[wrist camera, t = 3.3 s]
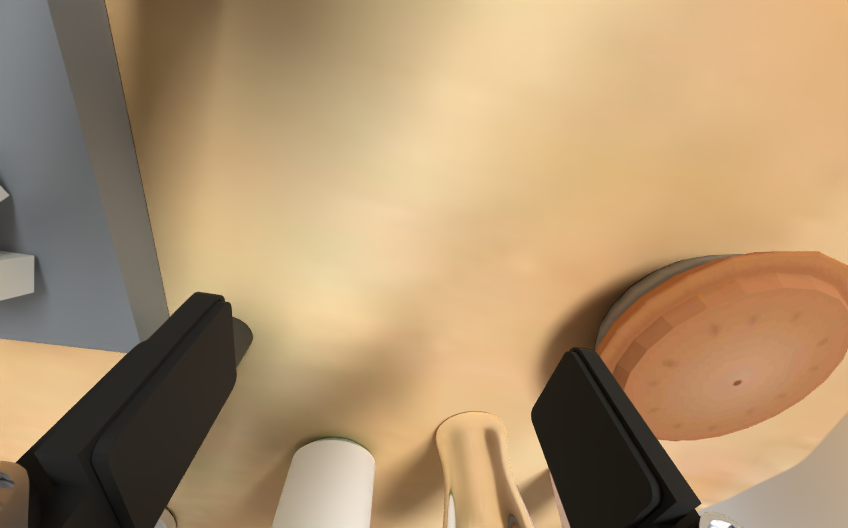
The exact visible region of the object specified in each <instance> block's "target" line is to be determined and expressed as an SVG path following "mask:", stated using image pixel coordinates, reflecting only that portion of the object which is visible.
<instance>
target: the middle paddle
mask: <svg viewBox="0 0 848 528" xmlns="http://www.w3.org/2000/svg"><path fill="white" fill-rule="evenodd" d="M8 196H9V194H8V193H7V192H6V191H5V190H4V189H3V188H2V187H1V186H0V202H1V201H2V200H4V199H5V198H6V197H8Z"/></svg>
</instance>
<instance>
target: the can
mask: <svg viewBox="0 0 848 528" xmlns="http://www.w3.org/2000/svg"><path fill="white" fill-rule="evenodd" d="M374 473H375V460H374V458H373V456H372V455H371V454H370V453H369V452H368V451H367V450H366V449H365V448H363V447H362V446H361V445H359V444H358V443H356V442H354V441H351V440H348V439H344V438H323V439H319V440H316V441H314V442H311V443H309V444H307V445H305V446H303V447H301V448H300V449H299V450H298V451H297V452H296V453H295V454H294V456H293V458H292V462H291V465H290V468H289V471H288V475H287V478H286V481H285V485H284V488H283V491H282V494H281V498H280V501H279V504H278V507H277V511H276V514H275V517H274V520H273V524H272V527H271V528H370V519H371V507H372V496H373V484H374Z"/></svg>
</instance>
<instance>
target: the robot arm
mask: <svg viewBox="0 0 848 528" xmlns="http://www.w3.org/2000/svg"><path fill="white" fill-rule="evenodd" d="M236 377H237V373H236V360H235V346H234V333H233V320H232V307H231V304H230V303H229V302H225V299H224V297H223V296H222V295H216V294H209V293H203V292H196V293H194V294H193V295H192V296H191V297H190V298H189V299H188V300H187V301H186V302H185V303H184V304H182V305H181V306H180V307H179V308H178V309H177V310H176V311H175V312H174V313H173V314H172V315H171V316H170V317H169V318H168V319H167V320H166V321H165V322H164V323H163V324H162V325H161V326H160V327H159V328H158V329H157V330H156V331H155V332H154V333H153V334H152V335H151V336H150V337H149V338H148V339H147V340H146V341H143V342H141V343H139V344H138V345H136V346H135V347H134V348H133V349H132V350H131V351H129V352H128V353H127V354H126V355H125V356H124V357H123V358H122V359H121V360H120V361H119V362H118V363H117V364H116V365H115V366H114V367H113V368H112V369H111V370H110V371H109V372H108V373H107V374H106V375H105V376H104V377H103V378H102V379H101V380H100V381H99V382H98V383H97V384H96V385H95V386H94V387H93V388H92V389H91V390H90V391H89V392H87V393H86V394H85V395H84V396H83V397H82V398H81V399H80V400H79V401H78V402H77V403H76V404H75V405H74V406H73V407H72V408H71V409H70V410H69V411H68V412H67V413H66V414H65V415H64V416H63V417H62V418H61V419H60V420H59V421H58V422H57V423H56V424H55V425H54V426H53V427H52V428H51V429H50V430H49V431H48V432H47V433H45V434H44V435H43V436H42V437H41V438H40V439H39V440H38V441H37V442H36V443H35V444H34V445H33V446H32V447H31V448H30V449H29V450H28V451H27V452H26V453H25V454H24V455H23V456H22V457H21V458H20V459H19V460H18V461H17V462H16V463H13V462H6V461H0V528H176V523H175V520H174V518H173V516H172V515H171V514H170V512H169V511H168V510H166V509H165V508H166V506H167V504H168V502H169V501H170V499H171V497H172V495H173V494H174V492H175V490H176V488H177V487H178V485H179V483H180V481H181V479H182V478H183V476H184V474H185V472H186V471H187V469H188V467H189V465H190V464H191V462H192V460H193V458H194V457H195V455H196V453H197V451H198V449H199V448H200V446H201V444H202V442H203V441H204V439H205V437H206V435H207V434H208V432H209V430H210V428H211V427H212V425H213V423H214V421H215V419H216V418H217V416H218V414H219V412H220V411H221V409H222V407H223V405H224V404H225V402H226V400H227V398H228V397H229V395H230V393H231V391H232V389H233V387H234V385H235V382H236ZM531 419H532V423H533V426H534V428H535V431H536V434H537V437H538V440H539V442H540V445H541V448H542V451H543V453H544V456H545V459H546V462H547V464H548V467H549V470H550V473H551V475H552V478H553V481H554V484H555V486H556V489H557V492H558V495H559V498H560V500H561V503H562V506H563V509H564V511H565V514H566V517H567V520H568V522H569V525H570V528H743V527H742V526H741V525H739V524H738V523H737V522H735V521H734V520H732V519H730V518H728V517H726V516H725V515H722V514H719V513H716V512H705V513H704V514H703V515H702V516H699V515H698V513H697V512H696V510H695V508H696V507H698V506H699V505H700V504H701V502H700V500H699V499H698V497H697V496H696V495H695V493H694V492H693V490H692V489H691V487H690V486H689V484H688V483H687V482H686V480H685V479H684V477H683V476H682V474H681V473H680V471H679V470H678V469H677V467H676V466H675V464H674V463H673V461H672V460H671V458H670V457H669V456H668V454H667V453H666V451H665V450H664V448H663V447H662V445H661V444H660V443H659V441H658V440H657V438H656V437H655V435H654V434H653V432H652V431H651V430H650V428H649V427H648V425H647V424H646V422H645V421H644V419H643V418H642V417H641V415H640V414H639V412H638V411H637V409H636V408H635V406H634V405H633V404H632V402H631V401H630V399H629V398H628V396H627V395H626V393H625V392H624V391H623V389H622V388H621V386H620V385H619V383H618V382H617V380H616V379H615V378H614V376H613V375H612V373H611V372H610V370H609V369H608V367H607V366H606V365H605V363H604V362H603V360H602V359H601V357H600V356H599V354H598V353H597V352H596V351H594V350H590V349H583V348H572V349H571V350H570V351H569V352H566V353H565V354H564V355H563V357H562V359H561V361H560V362H559V364H558V366H557V367H556V369H555V371H554V373H553V374H552V376H551V378H550V379H549V381H548V383H547V385H546V386H545V388H544V390H543V391H542V393H541V395H540V397H539V398H538V400H537V402H536V403H535V405H534V407H533V409H532V412H531Z"/></svg>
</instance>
